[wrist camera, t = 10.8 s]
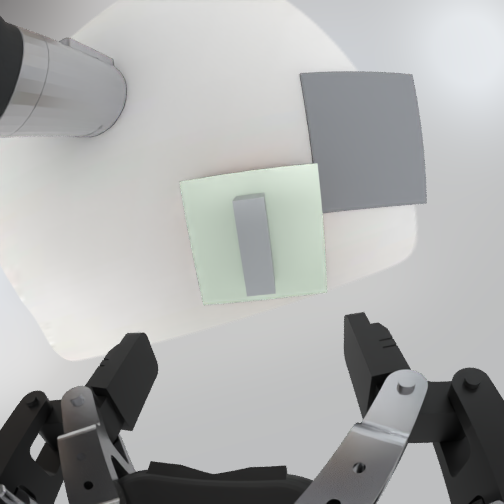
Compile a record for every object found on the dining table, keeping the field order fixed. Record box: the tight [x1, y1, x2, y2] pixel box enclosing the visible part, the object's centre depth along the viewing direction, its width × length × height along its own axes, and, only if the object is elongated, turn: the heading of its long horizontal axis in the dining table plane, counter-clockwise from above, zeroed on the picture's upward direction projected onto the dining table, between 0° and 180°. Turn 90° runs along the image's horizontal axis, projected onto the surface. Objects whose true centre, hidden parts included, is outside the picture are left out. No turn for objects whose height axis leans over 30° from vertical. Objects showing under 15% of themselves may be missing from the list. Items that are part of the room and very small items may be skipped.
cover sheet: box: [179, 163, 327, 305], centre depth 25 cm, size 12×12×4 cm
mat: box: [300, 72, 427, 213], centre depth 28 cm, size 15×13×1 cm
